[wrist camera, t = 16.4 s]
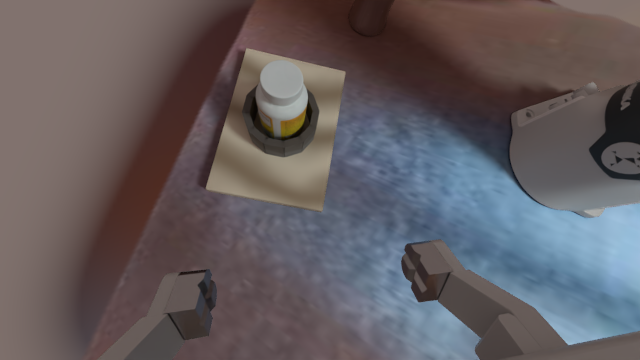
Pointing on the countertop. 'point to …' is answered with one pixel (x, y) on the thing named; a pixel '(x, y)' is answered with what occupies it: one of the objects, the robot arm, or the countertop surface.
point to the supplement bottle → (281, 100)
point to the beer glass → (369, 16)
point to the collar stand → (275, 155)
